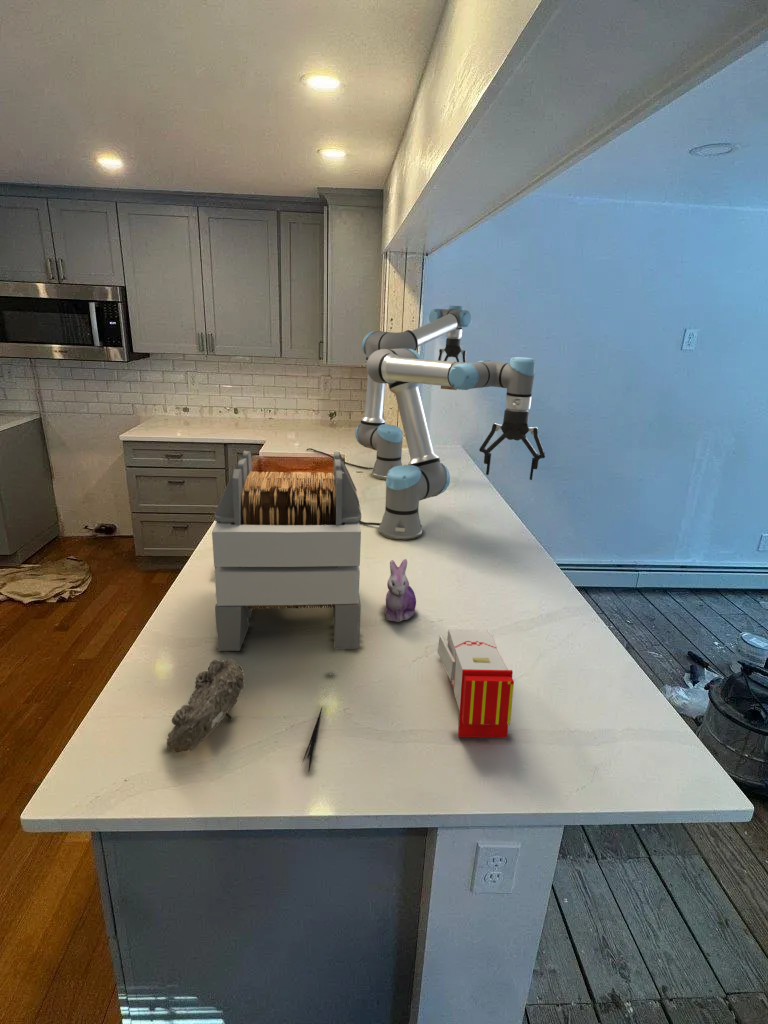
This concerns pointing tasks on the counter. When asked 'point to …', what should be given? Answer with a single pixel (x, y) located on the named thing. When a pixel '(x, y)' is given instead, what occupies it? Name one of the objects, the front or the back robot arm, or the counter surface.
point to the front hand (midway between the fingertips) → (509, 476)
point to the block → (448, 388)
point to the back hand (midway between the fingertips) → (450, 383)
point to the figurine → (399, 594)
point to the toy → (478, 682)
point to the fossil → (206, 705)
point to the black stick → (313, 740)
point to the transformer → (287, 549)
